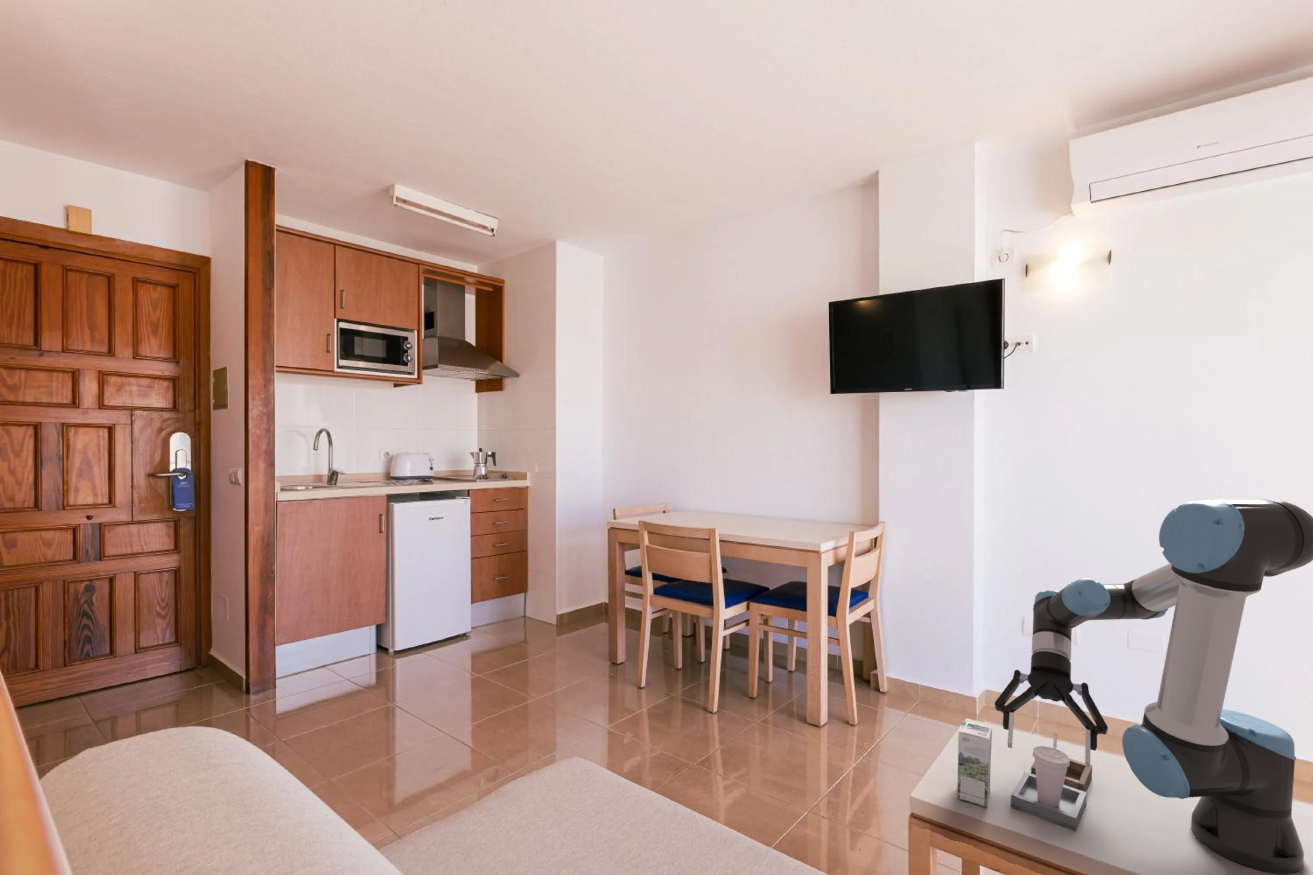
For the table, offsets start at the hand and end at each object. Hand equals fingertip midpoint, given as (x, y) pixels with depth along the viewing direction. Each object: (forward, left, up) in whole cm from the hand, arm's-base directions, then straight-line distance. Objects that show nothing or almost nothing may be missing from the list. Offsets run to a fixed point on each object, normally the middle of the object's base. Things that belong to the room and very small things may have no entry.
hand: (1047, 754), depth 132 cm
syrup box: (+11, +10, -9) cm, 17 cm away
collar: (-1, -9, -9) cm, 12 cm away
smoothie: (-1, +3, -8) cm, 9 cm away
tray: (-1, +3, -9) cm, 9 cm away
